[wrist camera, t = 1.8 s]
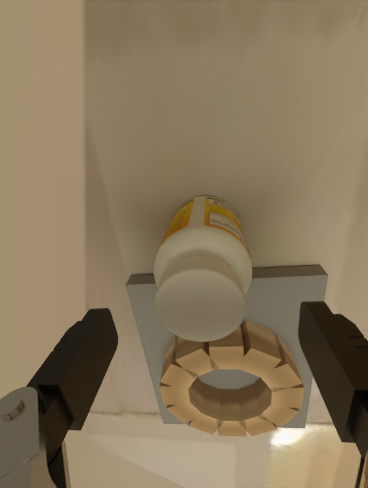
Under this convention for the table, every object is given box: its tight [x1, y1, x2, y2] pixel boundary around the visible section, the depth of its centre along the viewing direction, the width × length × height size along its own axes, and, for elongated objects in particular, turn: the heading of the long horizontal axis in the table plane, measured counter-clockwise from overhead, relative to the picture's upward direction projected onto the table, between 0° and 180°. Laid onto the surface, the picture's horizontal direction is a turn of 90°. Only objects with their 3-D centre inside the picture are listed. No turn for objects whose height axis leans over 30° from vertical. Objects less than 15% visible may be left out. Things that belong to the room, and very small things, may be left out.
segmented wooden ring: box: [159, 320, 304, 437], centre depth 22 cm, size 12×12×3 cm
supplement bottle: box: [154, 196, 252, 342], centre depth 15 cm, size 5×5×10 cm
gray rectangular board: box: [126, 265, 328, 428], centre depth 24 cm, size 20×16×2 cm
